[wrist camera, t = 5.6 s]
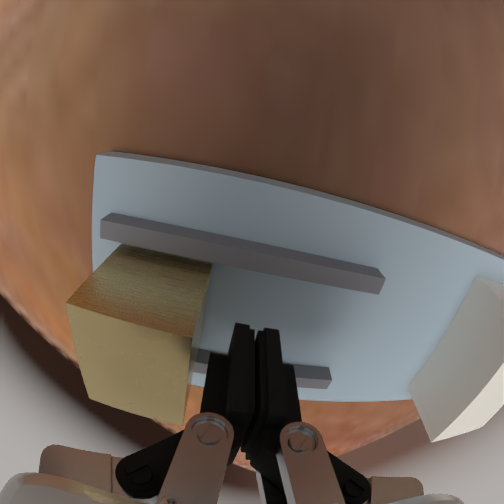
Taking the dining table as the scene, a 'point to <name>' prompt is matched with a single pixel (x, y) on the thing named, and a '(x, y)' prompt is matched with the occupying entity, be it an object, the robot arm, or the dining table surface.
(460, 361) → the white rectangular block
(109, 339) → the block
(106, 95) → the dining table surface
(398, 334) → the plate
